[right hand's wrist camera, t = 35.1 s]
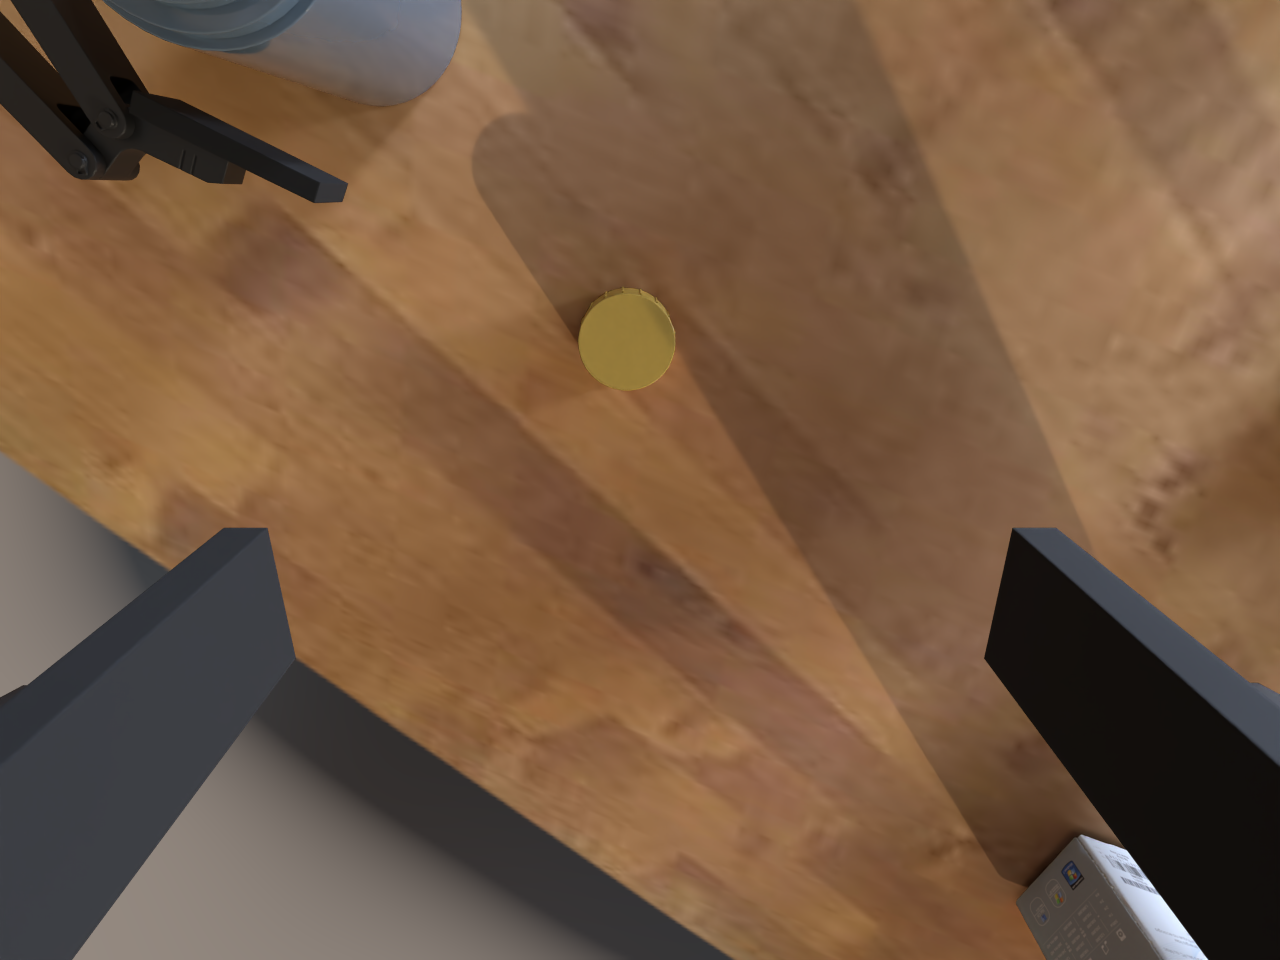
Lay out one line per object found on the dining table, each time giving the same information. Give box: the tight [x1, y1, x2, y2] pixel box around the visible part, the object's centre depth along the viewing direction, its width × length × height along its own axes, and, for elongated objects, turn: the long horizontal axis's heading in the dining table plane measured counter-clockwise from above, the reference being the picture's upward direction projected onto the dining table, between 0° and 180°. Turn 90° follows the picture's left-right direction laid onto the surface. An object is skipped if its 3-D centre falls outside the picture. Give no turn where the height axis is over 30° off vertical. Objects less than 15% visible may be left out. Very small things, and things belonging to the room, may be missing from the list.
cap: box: [578, 287, 675, 391], centre depth 34 cm, size 5×5×2 cm
